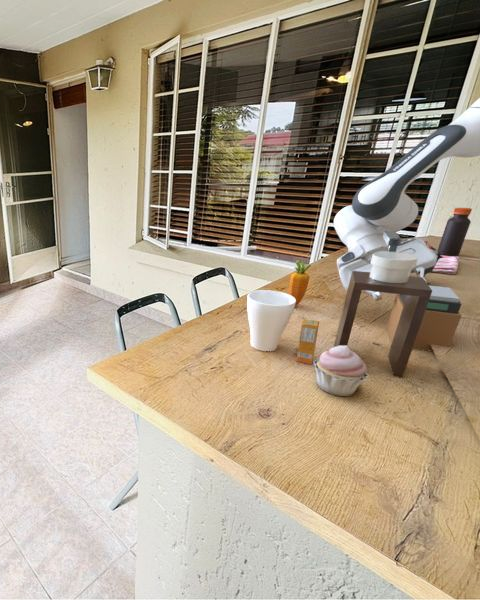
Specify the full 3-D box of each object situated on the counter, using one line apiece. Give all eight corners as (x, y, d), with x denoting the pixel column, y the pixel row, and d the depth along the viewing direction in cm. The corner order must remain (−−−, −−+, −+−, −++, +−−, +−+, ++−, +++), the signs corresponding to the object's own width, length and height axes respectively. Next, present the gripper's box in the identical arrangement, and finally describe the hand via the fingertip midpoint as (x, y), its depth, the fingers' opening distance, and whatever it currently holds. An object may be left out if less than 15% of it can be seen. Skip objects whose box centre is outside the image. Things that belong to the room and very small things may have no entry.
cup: (296, 353, 86) (306, 302, 81) (257, 359, 84) (265, 307, 79) (268, 334, 95) (276, 288, 90) (233, 339, 94) (238, 292, 89)
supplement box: (296, 355, 85) (303, 318, 81) (312, 358, 83) (321, 321, 79) (294, 361, 82) (302, 323, 79) (311, 365, 81) (320, 326, 77)
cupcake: (373, 403, 68) (387, 359, 64) (320, 400, 69) (331, 357, 66) (348, 376, 76) (359, 335, 72) (301, 373, 78) (310, 334, 74)
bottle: (460, 258, 147) (477, 209, 139) (438, 256, 150) (454, 209, 143) (455, 254, 152) (472, 207, 145) (434, 252, 156) (449, 207, 148)
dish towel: (395, 268, 140) (397, 259, 139) (403, 255, 154) (406, 248, 153) (455, 275, 128) (459, 266, 127) (458, 261, 143) (461, 253, 141)
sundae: (402, 281, 126) (414, 240, 121) (418, 279, 127) (432, 238, 121) (420, 287, 120) (434, 244, 115) (438, 285, 121) (453, 242, 115)
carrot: (307, 308, 109) (316, 262, 104) (294, 310, 108) (303, 264, 102) (294, 302, 114) (302, 258, 108) (281, 305, 113) (289, 260, 107)
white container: (400, 264, 82) (410, 232, 79) (413, 285, 70) (426, 247, 67) (362, 261, 86) (370, 230, 83) (368, 281, 74) (378, 245, 71)
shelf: (396, 358, 81) (422, 277, 74) (402, 377, 74) (432, 290, 67) (333, 346, 88) (352, 270, 80) (334, 363, 81) (354, 282, 73)
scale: (436, 336, 90) (454, 286, 85) (446, 353, 82) (467, 300, 77) (386, 328, 95) (400, 281, 90) (391, 344, 87) (407, 294, 82)
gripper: (418, 241, 95) (451, 281, 87) (333, 272, 105) (356, 311, 97) (419, 228, 91) (454, 269, 83) (330, 262, 101) (354, 302, 93)
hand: (400, 292), depth 90 cm, fingers open, 8 cm apart
